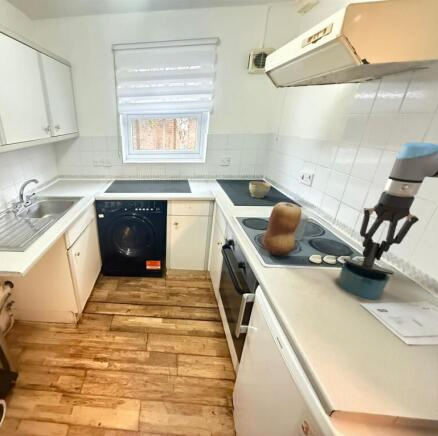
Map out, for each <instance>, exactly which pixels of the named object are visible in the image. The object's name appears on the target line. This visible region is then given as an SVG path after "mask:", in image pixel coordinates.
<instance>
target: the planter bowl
mask: <svg viewBox="0 0 438 436" xmlns="http://www.w3.org/2000/svg"><path fill="white" fill-rule="evenodd" d="M271 187H272V184H271V183H269V182H266V181H250V182H249V184H248V188H249V193H250V194H251V197H253V198H257V199H263V198H265V196H266V195H267V194H268V193H269V192H270V190H271Z"/></svg>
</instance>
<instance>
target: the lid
mask: <svg viewBox="0 0 438 436" xmlns="http://www.w3.org/2000/svg"><path fill="white" fill-rule="evenodd" d="M380 245H381V243H380V242H375V241H373V242H372V245H371V247H370V249H369V252H368V254H367V256H366V257H363V260H362V261H363V262H361V261H358V259H351V258H343V259H342V260H343V262H344V263H345V262H347V263H349V264H351V265H353V266H356V267H358V268H362V269H365V270H368V271H372V272H376V273H381V274H388V275H394V274H395V271H393V270H391V269H388V268H385V267H382V266H378V265H377V264H375V261H376V255H377V252H378V250H379V247H380Z"/></svg>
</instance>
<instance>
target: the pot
mask: <svg viewBox="0 0 438 436" xmlns="http://www.w3.org/2000/svg"><path fill="white" fill-rule="evenodd" d="M357 261H361V262H363V260H361V259H357ZM389 281H390V274H381V273H376V272H372V271H368V270H365V269H362V268H358V267H356V266H353V265H351V264H349V263H347V262H345V261H344V262H343V264H342V267H341V269H340V272H339V274H338V277H337V284H338V286H339V287H340V288H341V289H343V290H344V291H345V292H347V293H349V294H351V295H353V296H355V297H358V298H361V299H366V300H378V299H380V298H381V297H382V295H383V293H384V291H385V288H386V287H387V285H388V283H389Z"/></svg>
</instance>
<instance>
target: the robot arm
mask: <svg viewBox="0 0 438 436" xmlns="http://www.w3.org/2000/svg"><path fill="white" fill-rule="evenodd" d="M425 178H435V179H437V178H438V143H433V142H431V143H430V142H420V141H419V142H417V141H416V142H414V141H412V142H411V141H410V142H405V143H404V144H402V146H401V148H400V149H399V152H398V154H397V155H396V156H395V161H394V163H393V166H392V168H391V170H390V174H389V176H388V178H387V180H386V183H385V185H384V187H383V191H382V192H381V194H380V197H379V199H378V202H377V204H375V205H374V207H369V208H367V207H364V208H363V209H362V210H363V218H362V221H361V226H360V229H359V236H360V237H362V238H364V239H363V241H362V247H363V248H364V249H363V251H362V253H361V254H362V257H363V258H364V257H366V256H367V254H368V252H369V249H370V247H371V245H372V242H374V240H373V237H374V235H375V234H376V232H377V231H378V229H379V228H380V227H381V225H382V224H383V223H384V222H387V221H388V222H389V223H388V229H387V233H386V238H385V240H382V241H381V243H380V247H379V250H378V252H377V255H376V258H375V261H376V260H377V261H380V260H381V258H382V256H383V253H388V252H389V251H390V247H391V246H392V245H394V244H397V245H400V244H401V243H402V242H403V240H404V239H405V237H406V236H407V234H408V233H409V232H410V230H411V228H412V227H413V225H415V224H416V223H417V222H419V220H420V219H419V217H417V215H413V214H411V211H410V210H411V207H412V205H413V203H414V201H415V199H416V198H415V196H416V195H417V194H418V192H419V191H420V188H421V186H422V184H423V182H424V179H425ZM373 213H375V215H376V218H375V220H374V222H373V223H372V224H371V226H370V228H369V229H368V227H369V222H370V219H371V215H373ZM404 218H405V221H404V223H403V224H402V226H400V229H399V231H398V232H397V234H396V231H397V226H398V224H399V223H398V222H399V221H401V220H404ZM395 234H396V235H395Z"/></svg>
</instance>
